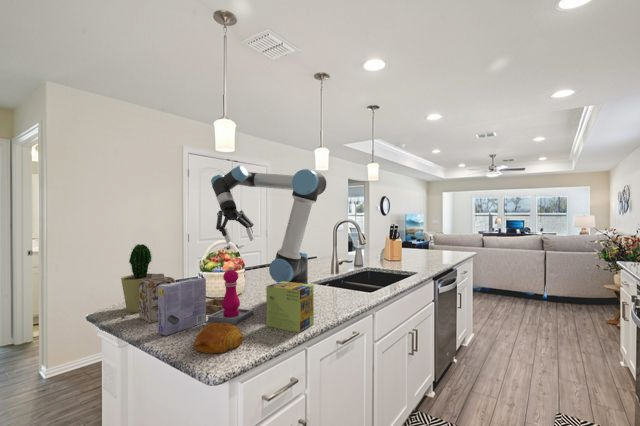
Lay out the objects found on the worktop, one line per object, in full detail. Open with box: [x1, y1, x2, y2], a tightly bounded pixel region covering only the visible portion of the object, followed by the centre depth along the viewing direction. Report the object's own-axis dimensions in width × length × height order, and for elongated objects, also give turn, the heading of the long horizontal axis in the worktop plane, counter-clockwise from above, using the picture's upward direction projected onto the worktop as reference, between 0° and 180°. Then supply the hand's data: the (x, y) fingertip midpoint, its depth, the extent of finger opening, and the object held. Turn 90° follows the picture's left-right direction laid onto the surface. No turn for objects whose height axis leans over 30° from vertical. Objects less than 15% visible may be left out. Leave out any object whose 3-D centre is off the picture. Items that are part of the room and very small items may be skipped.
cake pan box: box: [157, 277, 207, 337], centre depth 125 cm, size 19×5×18 cm, turn 149°
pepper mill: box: [222, 266, 241, 317], centre depth 136 cm, size 7×7×20 cm
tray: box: [207, 307, 254, 325], centre depth 136 cm, size 13×13×2 cm
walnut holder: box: [206, 297, 224, 314], centre depth 149 cm, size 11×11×3 cm
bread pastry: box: [193, 322, 244, 354], centre depth 108 cm, size 14×16×8 cm
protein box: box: [265, 281, 315, 334], centre depth 127 cm, size 10×15×16 cm
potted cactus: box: [120, 243, 154, 313], centre depth 150 cm, size 15×15×30 cm
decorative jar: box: [138, 273, 176, 324], centre depth 138 cm, size 12×12×18 cm
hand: (241, 240), depth 157 cm, fingers open, 13 cm apart
